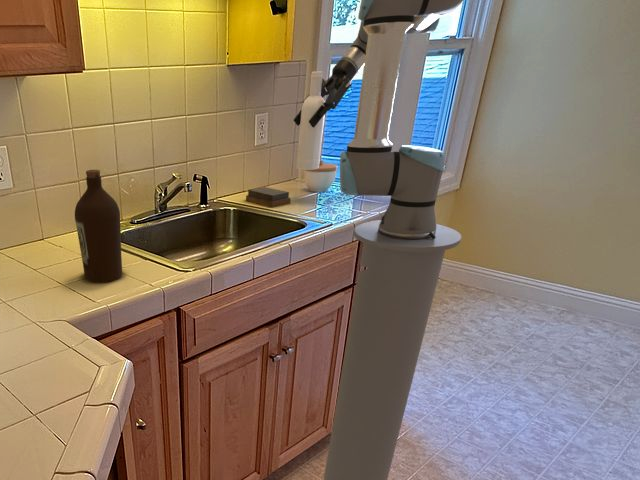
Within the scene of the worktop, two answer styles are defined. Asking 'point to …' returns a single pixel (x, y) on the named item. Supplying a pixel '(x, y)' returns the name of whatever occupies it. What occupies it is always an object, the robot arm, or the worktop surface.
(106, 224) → the olive oil
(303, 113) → the bottle
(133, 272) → the worktop surface
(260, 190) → the sharpening stone
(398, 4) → the robot arm
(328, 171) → the lidded bowl
